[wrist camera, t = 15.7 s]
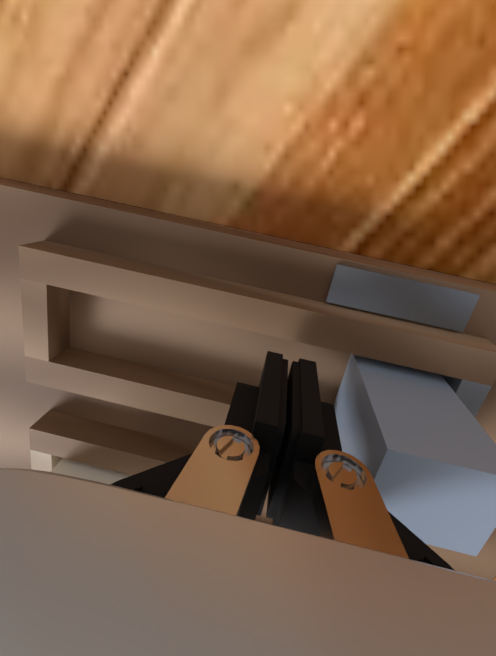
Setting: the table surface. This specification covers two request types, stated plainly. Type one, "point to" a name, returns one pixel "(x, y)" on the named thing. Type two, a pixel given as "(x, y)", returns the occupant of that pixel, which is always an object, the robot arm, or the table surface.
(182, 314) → the switch board
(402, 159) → the table surface
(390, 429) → the slate-blue tab
